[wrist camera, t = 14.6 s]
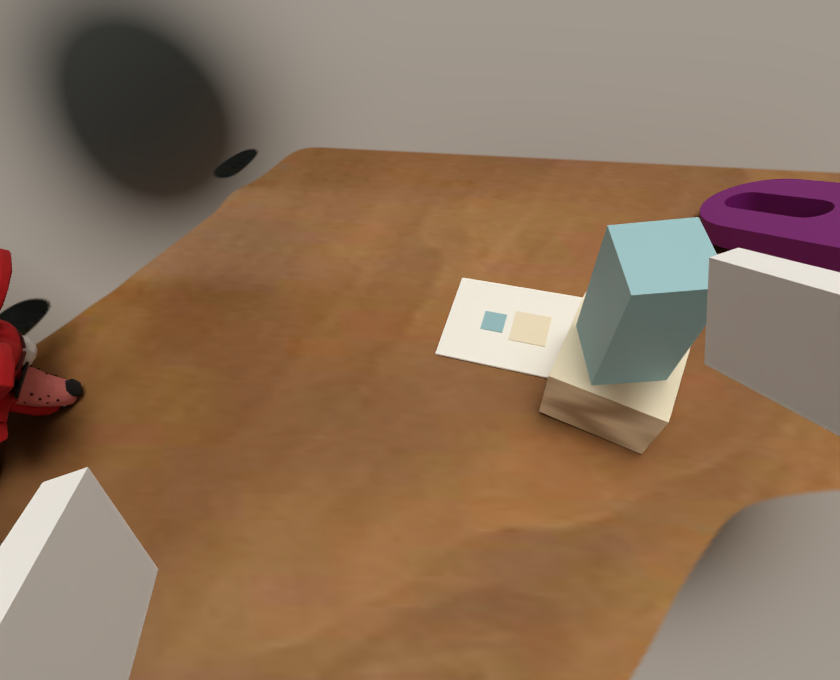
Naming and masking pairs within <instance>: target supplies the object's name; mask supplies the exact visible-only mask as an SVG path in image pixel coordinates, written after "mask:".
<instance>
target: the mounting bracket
mask: <svg viewBox="0 0 840 680" xmlns="http://www.w3.org/2000/svg"><path fill="white" fill-rule="evenodd" d="M700 221H701V223H702V225H703V227H704V229H705V231H706V233H707V235H708V237H709V239H710V241H711V243H712V244H713V245H716V246H719V247H723V248H727V249H731V250H733V249H736V248H742V249H746V250H750V251H754V252H758V253H763V254H767V255H771V256H775V257H779V258H783V259H787V260H791V261H795V262H799V263H803V264H807V265H812V266H816V267H820V268H824V269H828V270H832V271H836V272H840V183H835V182H824V181H813V180H801V179H772V180H763V181H756V182H751V183H746V184H742V185H738V186H735V187H732V188H729V189H726V190H724V191H721V192H719V193H717V194H715V195H713V196H712V197H710V198H709V199H707V200H706V201H705V202H704V203H703V204H702V206H701V208H700Z"/></svg>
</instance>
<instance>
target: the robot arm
mask: <svg viewBox="0 0 840 680" xmlns="http://www.w3.org/2000/svg"><path fill="white" fill-rule="evenodd" d="M705 365H707V366H709V367H711V368H713V369H715V370H717V371H718V372H720V373H722V374H724V375H726V376H728V377H730V378H731V379H733V380H735V381H737V382H739V383H741V384H743V385H745V386H746V387H748V388H750V389H752V390H754V391H756V392H758V393H759V394H761V395H763V396H765V397H767V398H769V399H771V400H773V401H774V402H776V403H778V404H780V405H782V406H784V407H786V408H787V409H789V410H791V411H793V412H795V413H797V414H799V415H801V416H802V417H804V418H806V419H808V420H810V421H812V422H814V423H816V424H817V425H819V426H821V427H823V428H825V429H827V430H829V431H830V432H832V433H834V434H836V435H838V436H840V272H836V271H832V270H828V269H824V268H820V267H816V266H812V265H807V264H803V263H799V262H795V261H791V260H787V259H783V258H779V257H775V256H771V255H767V254H763V253H758V252H754V251H750V250H746V249H742V248H736V249H733V250H730V251H727V252H724V253H721V254H718V255H715V256H712V257H709V272H708V295H707V318H706V341H705ZM157 572H158V568H157V567H156V565H155V564H154V562H153V561H152V559H151V558H150V557H149V555H148V554H147V552H146V551H145V549H144V548H143V546H142V545H141V543H140V542H139V541H138V539H137V538H136V536H135V535H134V533H133V532H132V530H131V529H130V527H129V526H128V525H127V523H126V522H125V520H124V519H123V517H122V516H121V514H120V513H119V511H118V510H117V509H116V507H115V506H114V504H113V503H112V501H111V500H110V498H109V497H108V496H107V494H106V493H105V491H104V490H103V488H102V487H101V485H100V484H99V482H98V481H97V480H96V478H95V477H94V475H93V474H92V472H91V471H90V469H89V468H88V467H87V468H84V469H81V470H78V471H75V472H72V473H69V474H66V475H63V476H60V477H57V478H54V479H51V480H48V481H45V482H43V483H42V484H41V486H40V487H39V489H38V490H37V492H36V493H35V495H34V496H33V498H32V499H31V501H30V502H29V504H28V505H27V507H26V508H25V510H24V511H23V513H22V514H21V516H20V517H19V519H18V520H17V522H16V524H15V525H14V527H13V528H12V530H11V531H10V533H9V534H8V536H7V537H6V539H5V540H4V542H3V543H2V545H1V543H0V680H129V676H130V673H131V669H132V665H133V661H134V658H135V654H136V650H137V647H138V643H139V639H140V635H141V632H142V628H143V624H144V620H145V617H146V613H147V609H148V605H149V602H150V598H151V594H152V590H153V587H154V583H155V579H156V576H157Z"/></svg>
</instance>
